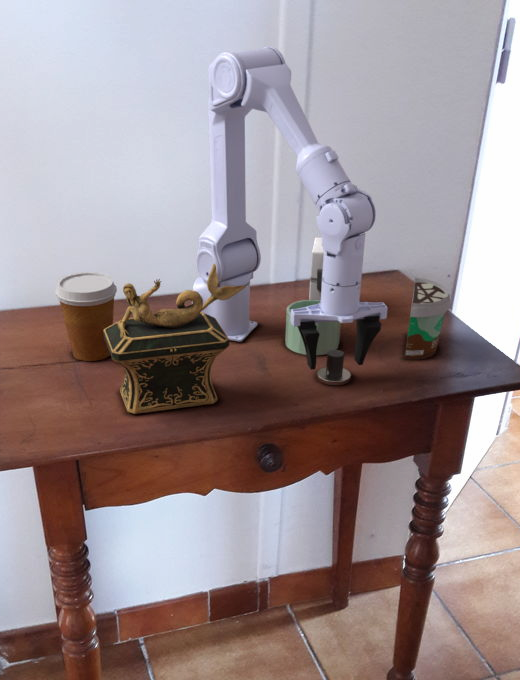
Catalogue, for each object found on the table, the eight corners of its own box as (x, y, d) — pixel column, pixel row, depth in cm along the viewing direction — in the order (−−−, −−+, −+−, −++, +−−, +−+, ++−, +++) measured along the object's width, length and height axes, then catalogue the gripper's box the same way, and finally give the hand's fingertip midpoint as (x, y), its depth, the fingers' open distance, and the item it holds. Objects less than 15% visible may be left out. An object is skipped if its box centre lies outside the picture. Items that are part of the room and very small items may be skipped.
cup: (277, 349, 141) (278, 315, 138) (295, 329, 148) (296, 296, 145) (329, 359, 139) (332, 324, 135) (345, 337, 146) (348, 304, 142)
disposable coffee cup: (51, 353, 139) (41, 282, 132) (97, 335, 145) (90, 266, 138) (87, 371, 134) (79, 298, 127) (133, 352, 140) (128, 282, 133)
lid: (312, 381, 132) (314, 357, 130) (322, 367, 136) (324, 343, 134) (345, 388, 131) (347, 363, 128) (354, 373, 135) (356, 349, 132)
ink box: (311, 297, 160) (314, 235, 153) (337, 299, 160) (342, 236, 153) (307, 316, 153) (311, 251, 146) (334, 318, 153) (339, 253, 146)
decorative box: (118, 420, 122) (107, 288, 110) (107, 389, 129) (96, 262, 118) (252, 402, 127) (255, 273, 115) (234, 373, 134) (235, 250, 123)
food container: (442, 367, 137) (452, 308, 131) (404, 363, 138) (411, 304, 132) (443, 335, 147) (452, 279, 141) (407, 332, 148) (415, 276, 142)
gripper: (300, 293, 120) (296, 380, 128) (398, 286, 122) (388, 371, 130) (288, 275, 125) (284, 359, 133) (381, 269, 128) (373, 351, 136)
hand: (335, 364), depth 132 cm, fingers open, 7 cm apart
